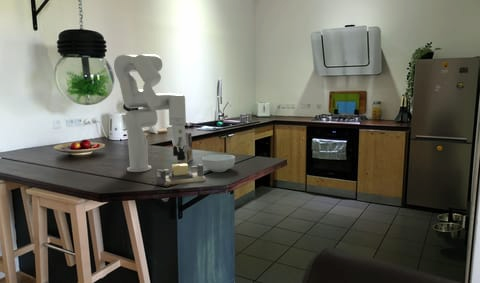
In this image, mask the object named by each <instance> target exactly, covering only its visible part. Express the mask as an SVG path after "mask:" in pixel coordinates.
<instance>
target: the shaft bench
mask: <svg viewBox="0 0 480 283" xmlns="http://www.w3.org/2000/svg"><path fill="white" fill-rule="evenodd" d="M190 169H191V170H190V171H191V172H190V171H189V175H184V176H175V177H173V176H172V172H171V173H170V171H171V170H170V168H169V169H168V168H164V169H161V168H160V169H159V168H158V169H155V178H156V184H157V185H161V184H162V185H161V186H169V185H170V184H172V185H178V184H188V183H194V182H202V181H203V182H204V181H206V180H207V178H206V176H204V165H203V163H197V164H196V165H191V167H190ZM163 184H164V185H163Z"/></svg>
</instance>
